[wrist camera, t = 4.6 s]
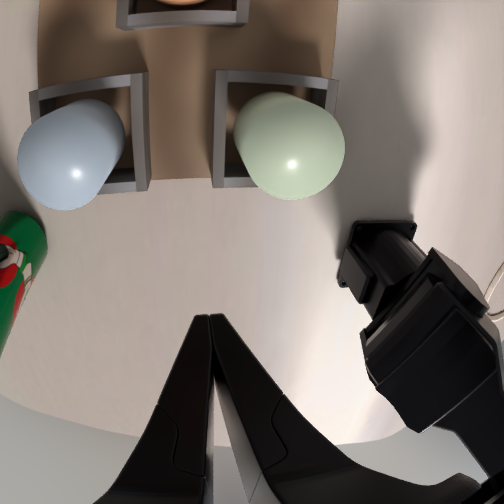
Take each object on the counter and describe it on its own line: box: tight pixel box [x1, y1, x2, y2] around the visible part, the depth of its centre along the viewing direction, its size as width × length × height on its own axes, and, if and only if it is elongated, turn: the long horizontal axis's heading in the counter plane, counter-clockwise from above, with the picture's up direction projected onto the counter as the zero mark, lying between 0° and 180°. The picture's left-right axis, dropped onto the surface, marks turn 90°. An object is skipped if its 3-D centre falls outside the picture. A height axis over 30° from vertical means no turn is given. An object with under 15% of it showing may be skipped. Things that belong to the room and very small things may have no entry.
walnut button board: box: [29, 0, 338, 195], centre depth 14 cm, size 18×16×3 cm
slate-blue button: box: [17, 99, 125, 210], centre depth 13 cm, size 4×4×4 cm
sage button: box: [233, 91, 345, 200], centre depth 14 cm, size 4×4×4 cm
